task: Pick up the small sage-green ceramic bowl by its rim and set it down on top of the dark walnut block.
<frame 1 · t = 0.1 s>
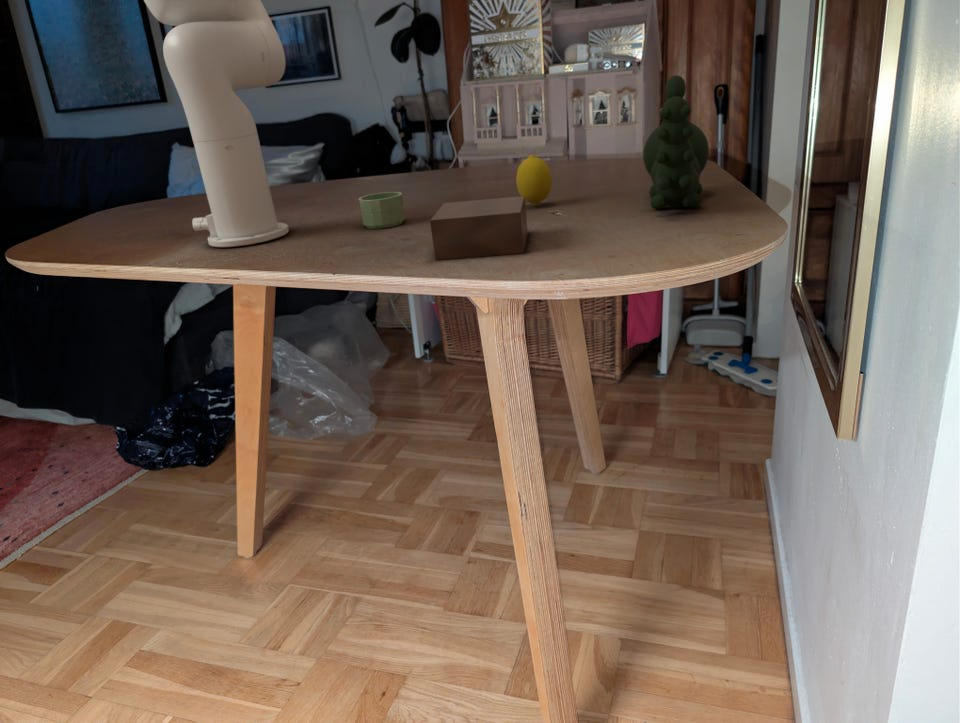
stand: (483, 245, 91), on the table
toy figurine: (675, 204, 103), on the table
lemon: (535, 207, 112), on the table
bowl: (384, 224, 112), on the table
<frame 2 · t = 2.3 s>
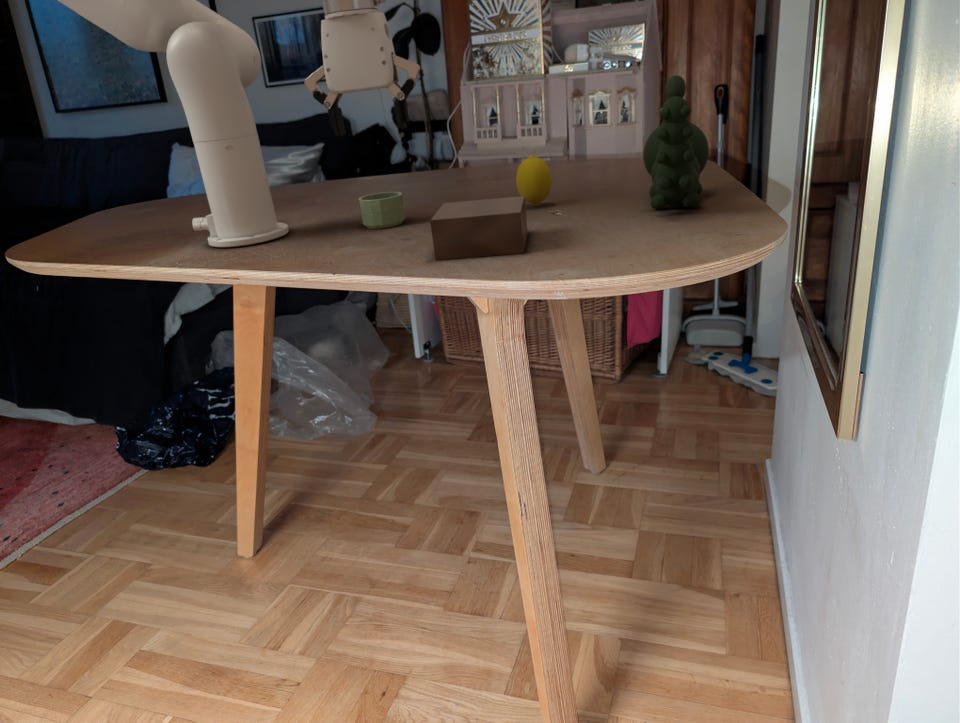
hand: (371, 132, 105), 14 cm above the table, tool pointing down, fingers open, 9 cm apart
nothing on the table moved.
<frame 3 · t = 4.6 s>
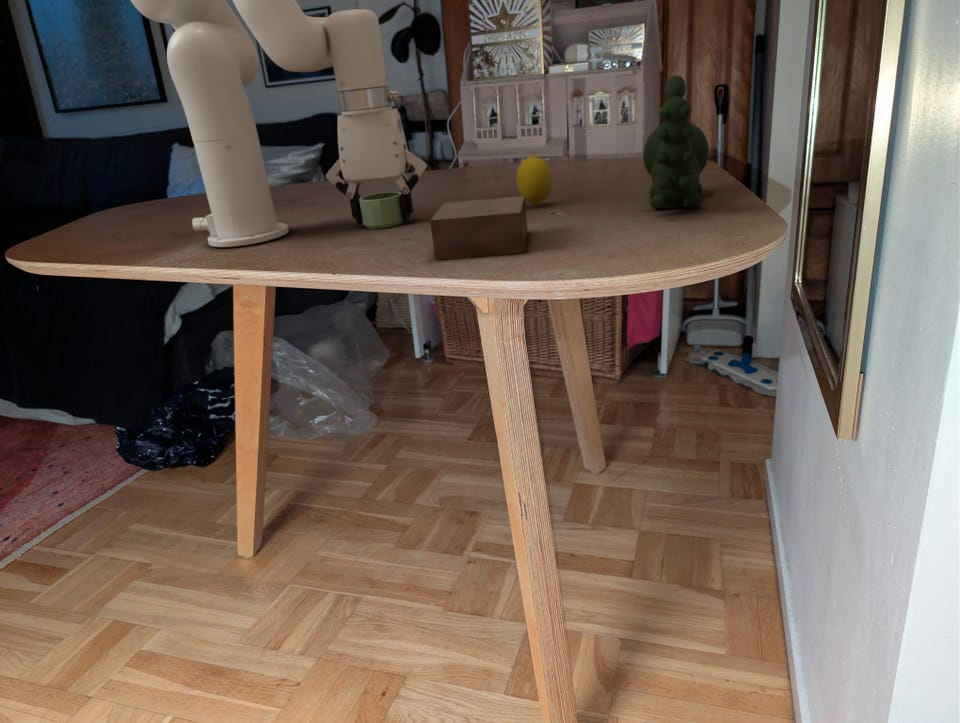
hand: (384, 219, 112), 1 cm above the table, tool pointing down, fingers closed on bowl, 6 cm apart
bowl: (384, 224, 112), on the table, touching gripper
everything else where it was.
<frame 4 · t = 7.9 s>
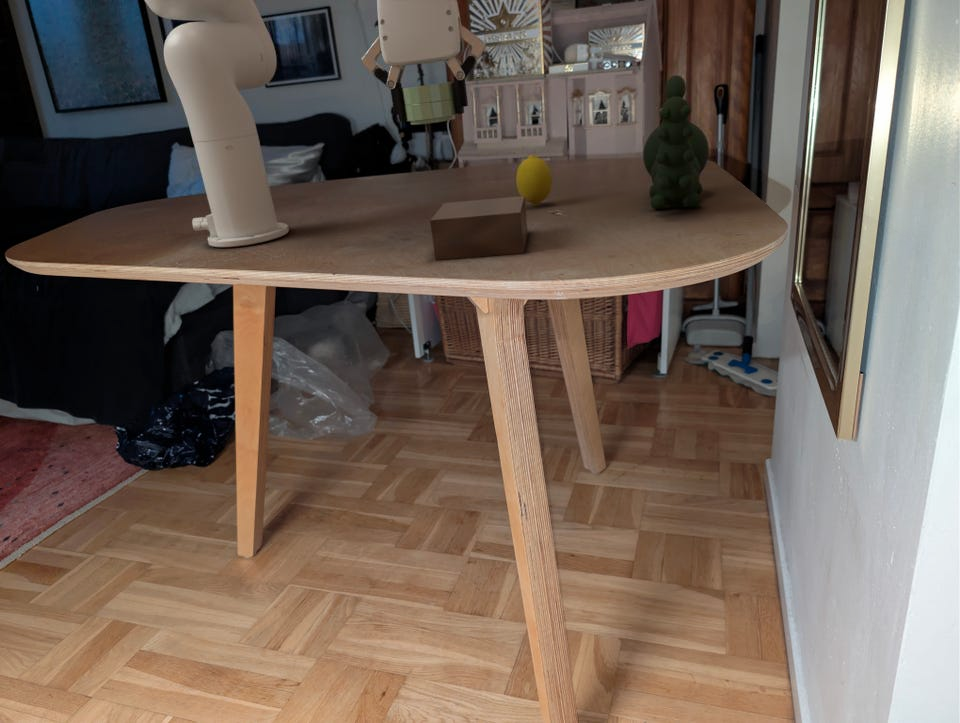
hand: (432, 115, 92), 16 cm above the table, tool pointing down, fingers closed on bowl, 6 cm apart
bowl: (432, 121, 92), point 15 cm above the table, touching gripper
everything else where it was.
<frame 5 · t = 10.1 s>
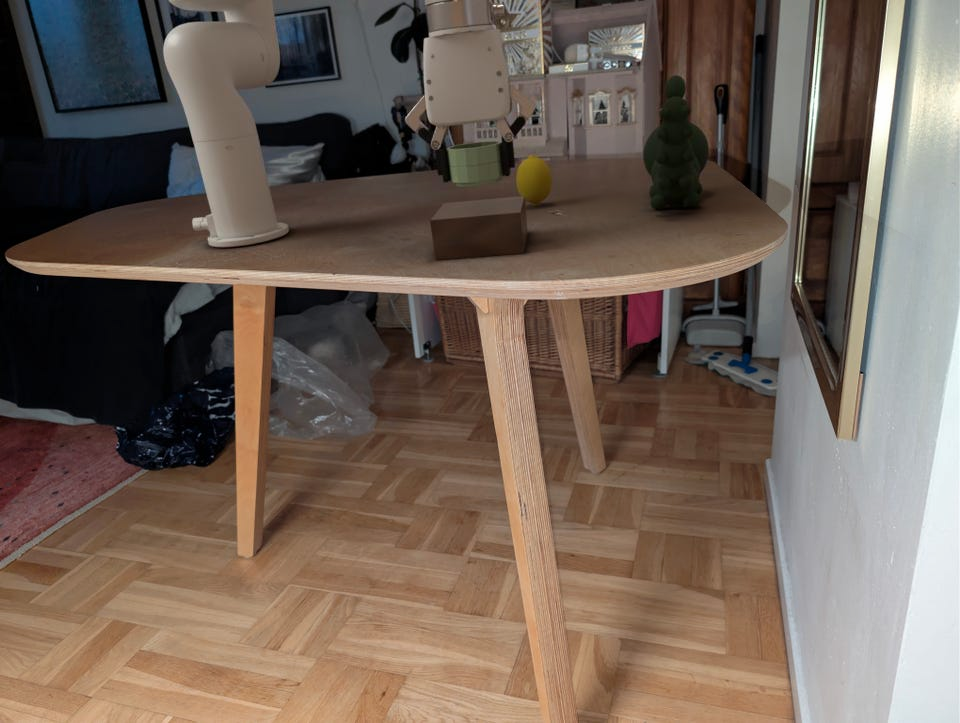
hand: (477, 176, 88), 9 cm above the table, tool pointing down, fingers closed on bowl, 6 cm apart
bowl: (478, 182, 88), point 8 cm above the table, touching gripper
everything else where it was.
when the fingers open (6 cm above the table, at t = 11.5 s): bowl stays where it is, resting on stand.
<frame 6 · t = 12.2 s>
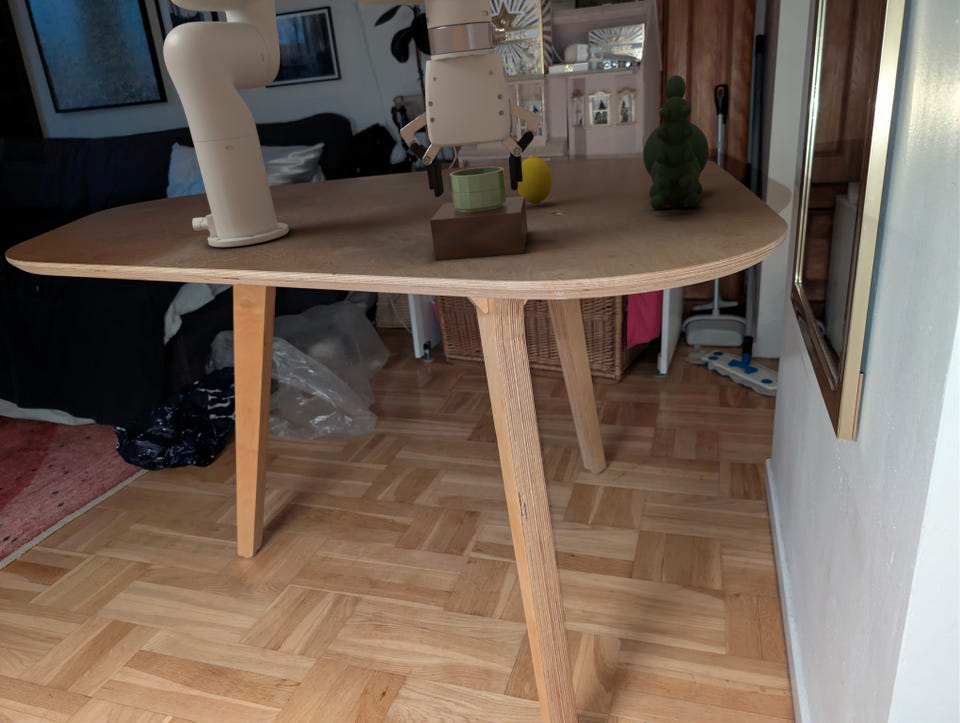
hand: (476, 191, 88), 7 cm above the table, tool pointing down, fingers open, 9 cm apart
bowl: (480, 207, 89), point 5 cm above the table, touching stand
everything else where it was.
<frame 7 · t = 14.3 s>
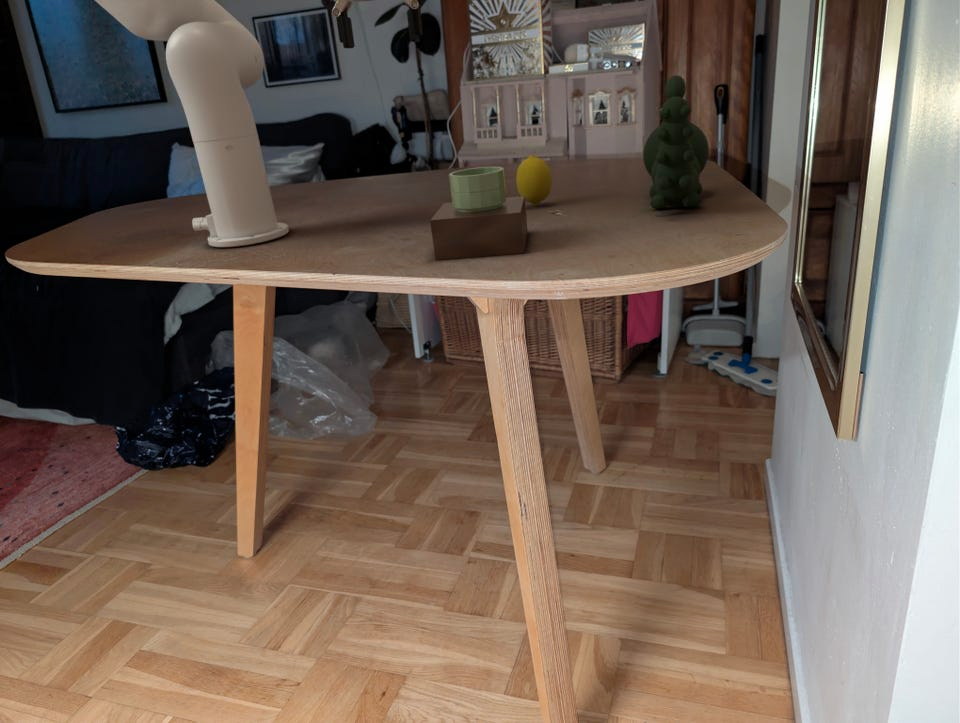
hand: (381, 44, 99), 26 cm above the table, tool pointing down, fingers open, 9 cm apart
nothing on the table moved.
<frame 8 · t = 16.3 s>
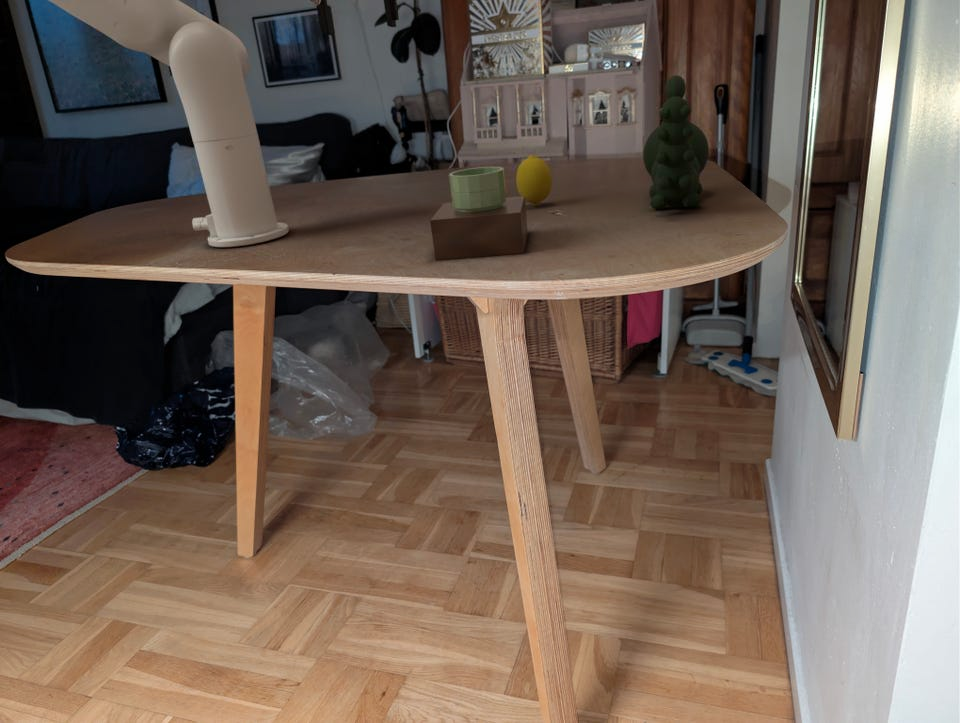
hand: (360, 30, 105), 28 cm above the table, tool pointing down, fingers open, 9 cm apart
nothing on the table moved.
at the end: bowl 0.1 cm off-centre on the stand, point 5.0 cm above the stand's base; bowl tilted 0° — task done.
